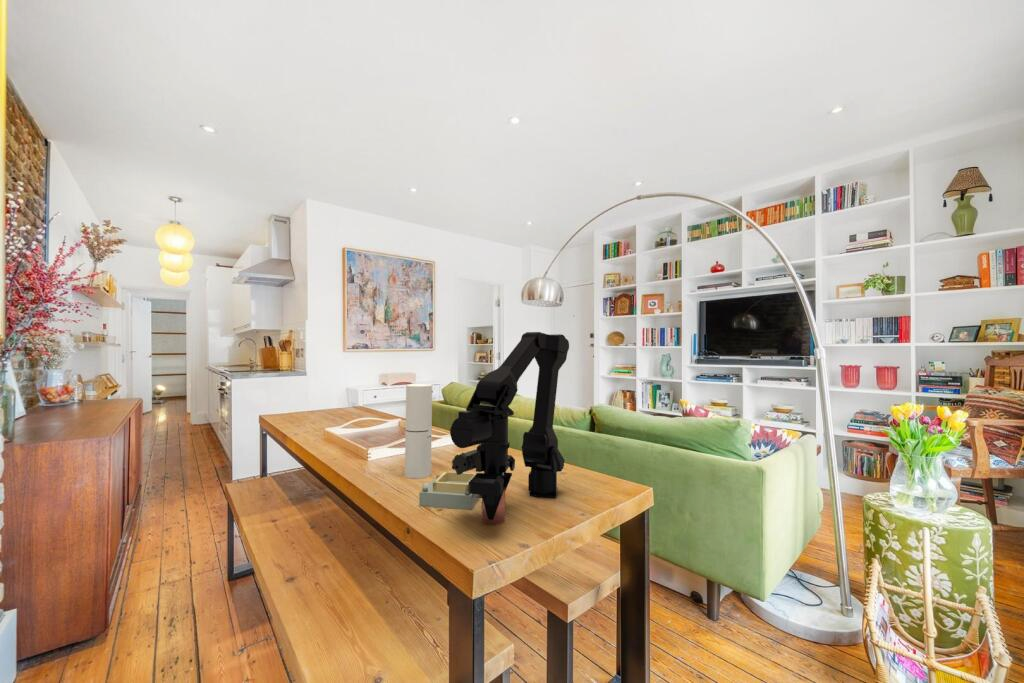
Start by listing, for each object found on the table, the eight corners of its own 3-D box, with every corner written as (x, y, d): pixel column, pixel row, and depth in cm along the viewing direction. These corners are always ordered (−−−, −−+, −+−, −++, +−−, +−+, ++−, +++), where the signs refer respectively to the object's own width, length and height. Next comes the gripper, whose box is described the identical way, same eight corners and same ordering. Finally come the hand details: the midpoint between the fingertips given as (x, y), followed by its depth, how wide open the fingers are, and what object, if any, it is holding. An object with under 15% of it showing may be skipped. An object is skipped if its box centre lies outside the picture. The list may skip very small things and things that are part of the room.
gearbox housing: (482, 492, 101) (482, 472, 102) (470, 509, 91) (471, 486, 91) (429, 488, 104) (430, 468, 104) (412, 505, 93) (412, 483, 93)
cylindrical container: (400, 474, 115) (401, 384, 116) (422, 469, 120) (423, 383, 121) (413, 480, 110) (414, 386, 110) (435, 474, 115) (437, 385, 115)
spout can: (506, 516, 87) (507, 483, 87) (502, 526, 82) (502, 491, 83) (475, 514, 88) (475, 481, 88) (469, 523, 84) (469, 488, 84)
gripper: (468, 428, 96) (467, 495, 96) (442, 447, 78) (441, 531, 77) (515, 430, 94) (514, 499, 94) (500, 450, 76) (499, 535, 76)
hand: (493, 514), depth 85 cm, fingers closed on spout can, 5 cm apart
